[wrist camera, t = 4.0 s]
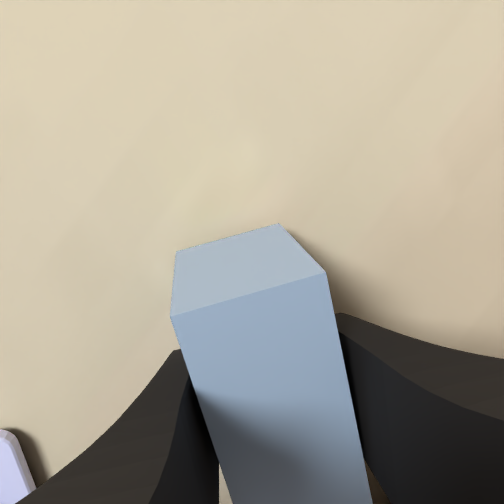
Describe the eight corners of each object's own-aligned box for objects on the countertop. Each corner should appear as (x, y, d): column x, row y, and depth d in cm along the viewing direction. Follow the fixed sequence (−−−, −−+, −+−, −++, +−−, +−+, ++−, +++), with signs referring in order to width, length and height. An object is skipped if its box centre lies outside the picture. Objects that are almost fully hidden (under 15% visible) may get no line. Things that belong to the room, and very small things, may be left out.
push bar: (285, 600, 15) (318, 758, 11) (175, 251, 11) (169, 316, 7) (359, 575, 15) (416, 722, 12) (278, 223, 11) (326, 272, 7)
